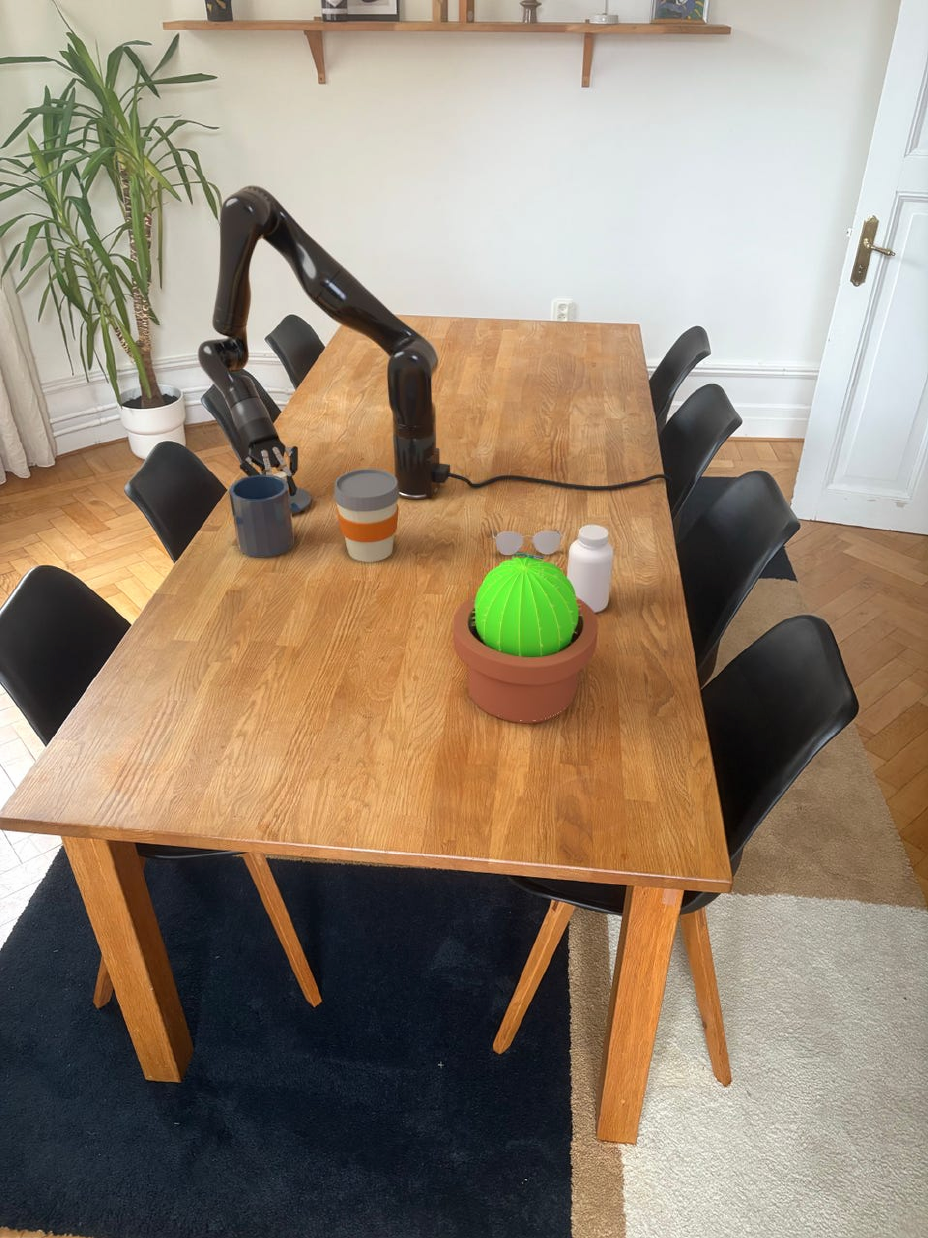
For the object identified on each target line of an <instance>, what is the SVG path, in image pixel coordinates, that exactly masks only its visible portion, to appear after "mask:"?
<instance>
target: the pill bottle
mask: <svg viewBox="0 0 928 1238" xmlns="http://www.w3.org/2000/svg"><path fill="white" fill-rule="evenodd" d="M609 538H610V533H609V530H608V529H607V528H606V527H604V526H602V525H598V524H586V525H583V526H582V527H580V528H579V530H578V536H577V539H576V540H574V541H573V542H572V543H571V545H570V547H569V550H568V558H567V559H568V561H567V573H566V577H567V578H568V579H569V581H570V580H571V581H570V582H571V584H572V586H573V588H574V590H575V589H576V590H575V594H576V597H577V598H579V599H581V600H582V601H583V602H585V603H586V604H587V605H588V606H589V607H590V608H591V609H592V610H593V611H594V613H595V614H596V613H599V612H602V611H603V610H605V609H606V608H607V606H608V604H609V600H610V592H611V584H612V574H613V566H614V557H615V556H614V555H615V551H614V548H613V546H612V545H611V544H610V543H609ZM572 579H573V580H574V581H573V580H572ZM572 582H573V583H572Z"/></svg>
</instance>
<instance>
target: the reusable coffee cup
mask: <svg viewBox="0 0 928 1238" xmlns="http://www.w3.org/2000/svg"><path fill="white" fill-rule="evenodd" d="M333 489H334V491H333V499H334V502H335V503H336V506H337V508H336V516H337V520H338V523H339V528H340V532H341V534H342V535H343V537H344V540H345V541H344V542H345V545H346V549H347V553H348V556H349V557H351V558H352V559H353V560H355V561H359V562H363V563H372V562H373V563H374V562H379V561H382V560H385V559H386V558H388V557H390V556H391V554H392V553H393V549H394V539H395V533H396V532H397V529H398V518H399V511H400V509H399V507H400V506H399V505H398V500H399V498H400V496H399V488H398V482H397V479H396V477H395V474H392V473H391V472H388V471H387V470H382V469H377V468H360V469H354V470H351V471H350V470H349V471H347V472H345V473H342V474H341V475H340V476H338V477H337V478H336V479H335V481H334V488H333Z"/></svg>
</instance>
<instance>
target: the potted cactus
mask: <svg viewBox="0 0 928 1238" xmlns="http://www.w3.org/2000/svg"><path fill="white" fill-rule="evenodd" d="M519 556H520V557H519ZM507 558H508V560H504V561H502V562H500V563H498V566H494V568H493V569H490V571H489V572H488V573H486V572H484V574H485V575H486V576H485V577H484V579H483V582H482V584H481V585H480V586H478V587H477V586H476V588H478V589H477V592H476V593H474V594H473V595H470V596H469V597H468V598H466V599H465V601H464V602H462V603H461V604H460V606H459V607H458V609H457V610H456V612H455V614H454V616H453V620H452V621H453V622H452V645H453V648H454V652H455V653H456V655H457V656H458V658H459V659H460V660H461V661H462V662H463V663H464V664H466V665H467V691H468V694H469V697H470V698H471V699H470V700H472V702H473V703H474V704H475V705H476V706H477V707H478V708H480V709H481V711H484V712H486V714H489V715H490V716H492V717H495V718H498V719H501V720H504V721H507V722H512V723H518V724H536V723H537V724H538V723H542V722H546V721H548V720H551V719H553V718H555V717H557V716H559V715H560V714H563V712H564V711H566V710H567V709H568V707H570V705H571V704H572V702H573V700H574V699H575V696H576V693H577V689H578V679H579V672H580V671H581V670H582V669H583V668H584V667H586V665H587V664H588V663H590V661H591V659H592V658H593V656H594V654H595V651H596V648H597V642H598V631H599V621H598V617H597V615H596V613H594V611H593V610H592V609H591V608H590V607H589V606H588V605H587V604H586V603H585V602H583V601H582V600H581V599H579V598H577V597H576V594H575V590H576V589H575V590H574V588H573V586H572V584H571V582H570V581H571V580H570V581H569V579H568V578H567V575H565V574H564V571H563V570H562V568H563V567H561V568H559V567H558V566H557V563H556V561H554V560H553V561H552V563H551V562H547V561H545V560H546V558H545V557H543V556H539V555H534V554H528V553H520V552H516V553H513V554H512V558H510V557H507ZM554 562H555V563H554ZM572 580H573V579H572ZM573 581H574V580H573ZM572 583H573V582H572ZM564 708H565V709H564ZM560 711H561V712H560ZM558 712H559V713H558ZM557 713H558V714H557ZM555 714H556V715H555ZM498 715H499V716H498ZM553 715H554V716H553ZM550 716H551V717H550ZM548 717H549V718H548ZM545 718H546V719H545ZM541 719H542V720H541ZM520 720H522V721H520ZM533 720H536V721H533Z"/></svg>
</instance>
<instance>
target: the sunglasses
mask: <svg viewBox="0 0 928 1238" xmlns="http://www.w3.org/2000/svg"><path fill="white" fill-rule="evenodd" d="M491 531H492V539H495V546H496V549H497V550H498V552H499V553H500V554H502V555H504V556H513V555H514V554H513V553H518V551H520V549H521V548H522V547H523V545H524V543H525V540H524V538H525V537H531V538H532V539H531V540H530V542H531V544H532V546H533V547H534V548H535V550H537V552H538V553H541V554H542V555H546V556H547V555H552V554H554V553H556V552H557V551H558V549H559V546H560V544H561V538H563V537H564V535H563V534H562V532H561V531H560V529H559V528H558V527H556V528H555V530H542V531H538V532H536V533H535V534H534V535H533V536H532V535H526V534H525V535H524V536H523V535H522V534H521V533H520V532H517V531H507V530H505V531H501V532H499V533H498V534H497V535H496V536H495V535H494V530H493V528H491ZM557 531H558V532H557Z"/></svg>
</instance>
